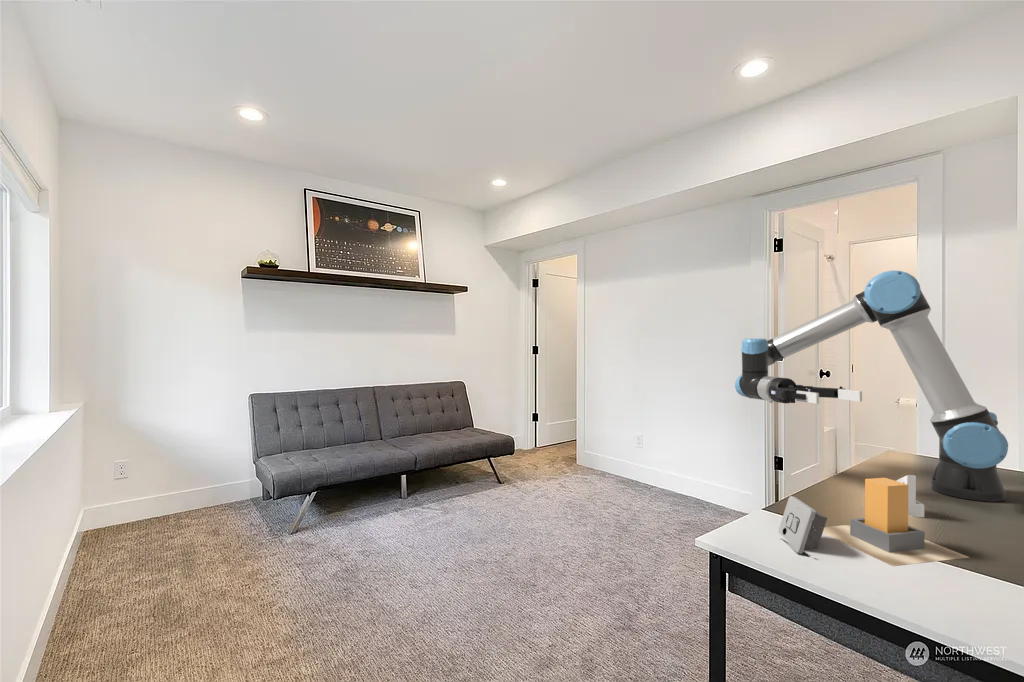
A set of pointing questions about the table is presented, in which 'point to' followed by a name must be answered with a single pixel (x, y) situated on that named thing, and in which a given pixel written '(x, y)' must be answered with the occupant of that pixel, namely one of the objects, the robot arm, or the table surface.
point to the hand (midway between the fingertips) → (839, 397)
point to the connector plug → (886, 505)
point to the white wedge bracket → (912, 496)
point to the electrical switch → (801, 525)
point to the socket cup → (887, 537)
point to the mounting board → (894, 558)
